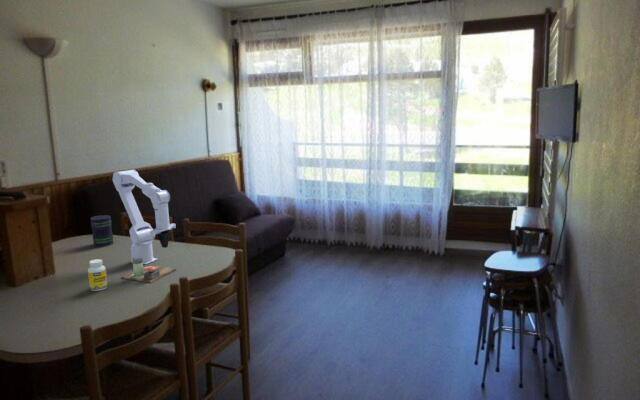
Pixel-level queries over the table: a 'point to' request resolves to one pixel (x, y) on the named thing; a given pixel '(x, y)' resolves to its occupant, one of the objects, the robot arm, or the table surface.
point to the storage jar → (102, 230)
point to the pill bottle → (97, 275)
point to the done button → (151, 269)
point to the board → (161, 271)
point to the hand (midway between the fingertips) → (164, 247)
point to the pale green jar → (138, 267)
